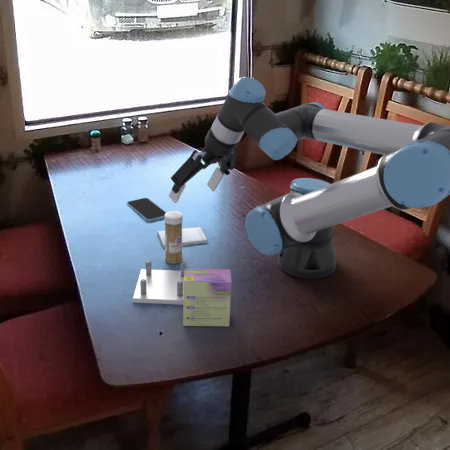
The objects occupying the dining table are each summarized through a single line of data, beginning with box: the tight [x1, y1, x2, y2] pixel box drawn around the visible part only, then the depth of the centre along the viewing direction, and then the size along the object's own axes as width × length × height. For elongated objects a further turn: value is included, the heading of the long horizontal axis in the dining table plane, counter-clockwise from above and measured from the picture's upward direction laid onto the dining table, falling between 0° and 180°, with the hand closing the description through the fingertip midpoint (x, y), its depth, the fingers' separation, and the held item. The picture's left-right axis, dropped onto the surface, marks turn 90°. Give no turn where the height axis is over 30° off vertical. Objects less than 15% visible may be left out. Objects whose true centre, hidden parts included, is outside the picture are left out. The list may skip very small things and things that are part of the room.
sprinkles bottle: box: [163, 210, 184, 265], centre depth 165 cm, size 5×5×13 cm
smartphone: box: [126, 197, 167, 223], centre depth 194 cm, size 7×1×15 cm
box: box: [182, 268, 232, 328], centre depth 143 cm, size 10×6×12 cm, turn 92°
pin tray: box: [132, 260, 187, 306], centre depth 155 cm, size 13×13×5 cm
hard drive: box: [157, 226, 209, 249], centre depth 179 cm, size 2×8×12 cm
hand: (192, 193), depth 168 cm, fingers open, 13 cm apart
